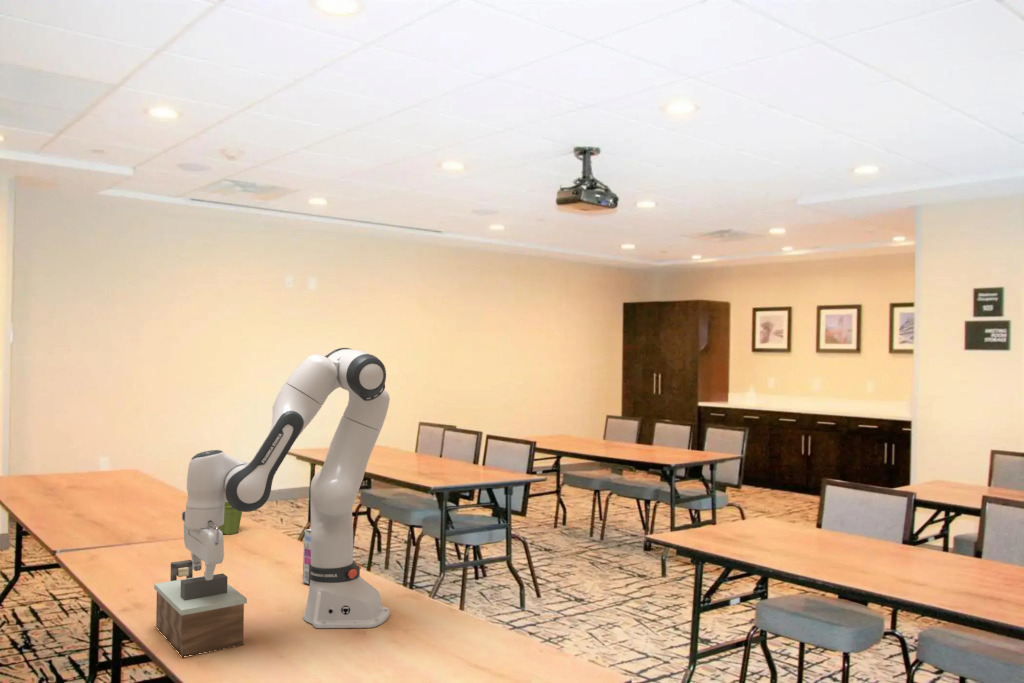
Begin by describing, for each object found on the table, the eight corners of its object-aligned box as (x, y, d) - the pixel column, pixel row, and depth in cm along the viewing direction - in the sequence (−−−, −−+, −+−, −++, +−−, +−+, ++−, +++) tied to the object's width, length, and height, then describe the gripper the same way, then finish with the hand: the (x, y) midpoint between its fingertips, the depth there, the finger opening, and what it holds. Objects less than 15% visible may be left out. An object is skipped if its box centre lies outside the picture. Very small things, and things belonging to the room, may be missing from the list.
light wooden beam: (188, 575, 204) (188, 568, 204) (178, 577, 203) (179, 569, 203) (180, 568, 211) (180, 561, 211) (170, 570, 209) (171, 562, 209)
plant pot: (251, 531, 303) (251, 502, 304) (225, 537, 293) (226, 507, 293) (231, 528, 310) (231, 499, 310) (205, 533, 300) (206, 504, 300)
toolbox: (243, 644, 187) (244, 583, 187) (182, 658, 179) (183, 593, 179) (207, 612, 210) (208, 557, 210) (151, 622, 202) (152, 565, 202)
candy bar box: (312, 587, 233) (313, 532, 234) (302, 583, 237) (302, 529, 237) (342, 579, 242) (342, 526, 242) (332, 576, 245) (332, 523, 245)
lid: (246, 607, 187) (247, 581, 187) (181, 619, 178) (181, 592, 178) (214, 582, 207) (215, 558, 207) (154, 592, 198) (154, 568, 198)
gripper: (231, 524, 183) (229, 583, 183) (205, 509, 200) (203, 563, 199) (204, 527, 179) (201, 587, 179) (179, 511, 196) (177, 566, 195)
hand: (202, 574), depth 189 cm, fingers open, 8 cm apart
